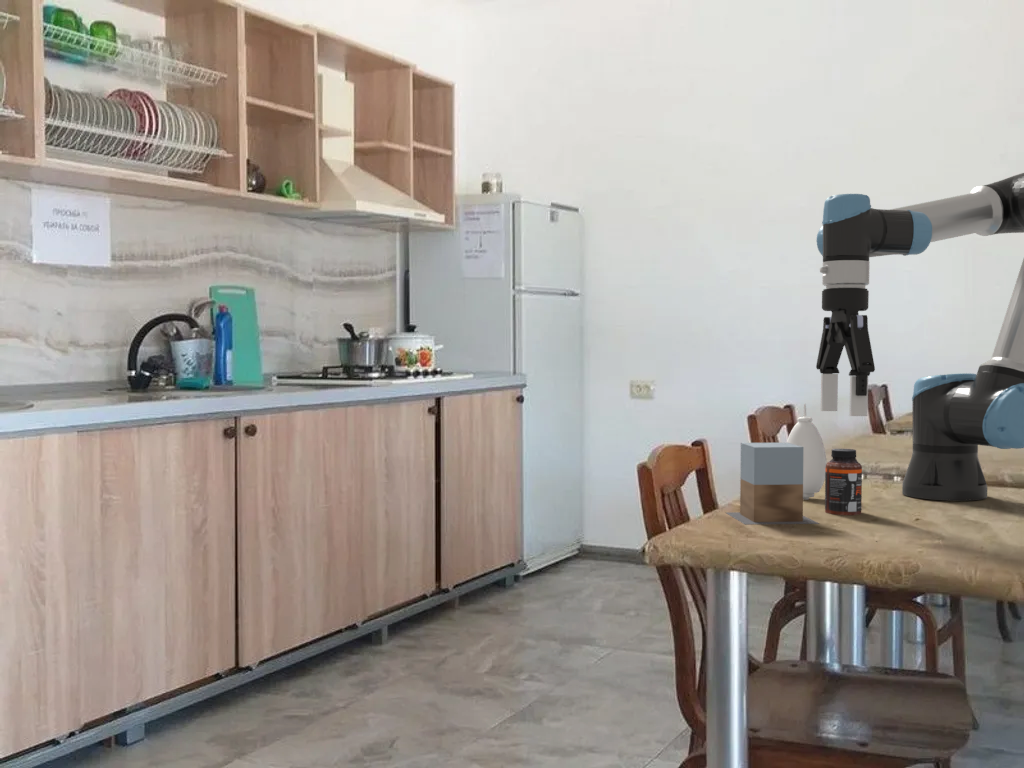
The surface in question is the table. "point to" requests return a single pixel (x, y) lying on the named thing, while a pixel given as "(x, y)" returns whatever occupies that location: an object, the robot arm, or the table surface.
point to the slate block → (771, 463)
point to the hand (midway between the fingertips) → (843, 413)
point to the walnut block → (771, 502)
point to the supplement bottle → (843, 483)
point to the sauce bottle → (809, 454)
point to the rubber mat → (749, 522)
